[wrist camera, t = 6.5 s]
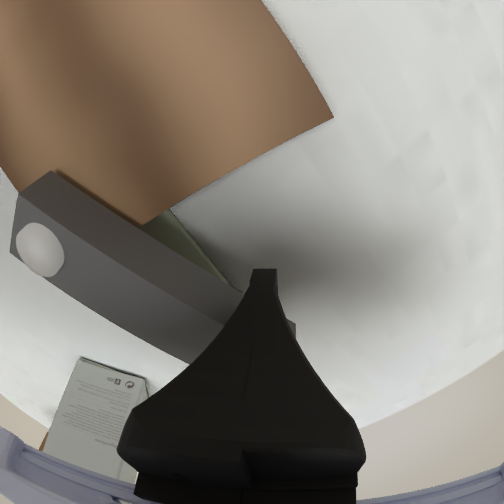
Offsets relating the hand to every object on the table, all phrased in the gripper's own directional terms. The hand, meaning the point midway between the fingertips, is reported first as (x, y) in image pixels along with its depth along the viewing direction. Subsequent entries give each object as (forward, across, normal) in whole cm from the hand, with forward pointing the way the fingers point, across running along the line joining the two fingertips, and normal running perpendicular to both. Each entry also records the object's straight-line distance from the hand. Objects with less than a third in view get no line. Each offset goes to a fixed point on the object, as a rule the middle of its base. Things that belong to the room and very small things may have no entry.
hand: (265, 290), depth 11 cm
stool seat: (+3, +4, -4) cm, 6 cm away
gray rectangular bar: (+1, +4, 0) cm, 4 cm away
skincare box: (+3, +13, +14) cm, 20 cm away
